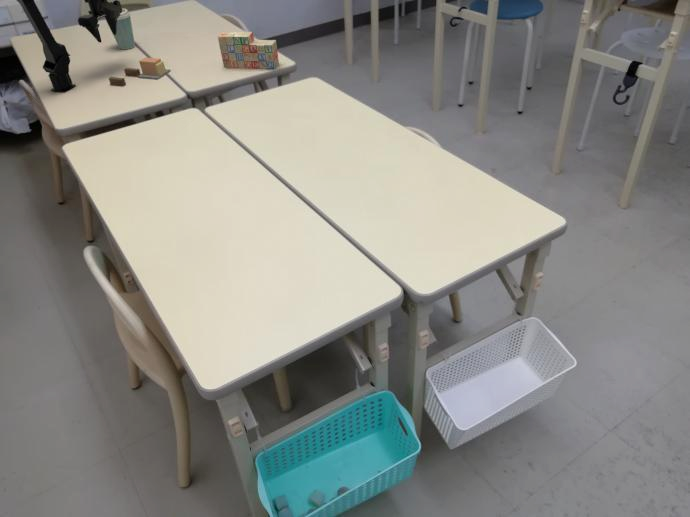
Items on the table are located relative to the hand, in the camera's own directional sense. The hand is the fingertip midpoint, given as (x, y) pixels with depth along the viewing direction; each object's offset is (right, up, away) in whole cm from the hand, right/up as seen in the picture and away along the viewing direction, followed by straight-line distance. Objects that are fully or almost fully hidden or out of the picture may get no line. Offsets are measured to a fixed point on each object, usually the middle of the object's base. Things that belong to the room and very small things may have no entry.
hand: (107, 38), depth 208 cm
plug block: (+18, -13, +1) cm, 22 cm away
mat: (+18, -14, +1) cm, 23 cm away
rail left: (+7, -20, -5) cm, 22 cm away
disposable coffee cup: (-4, +8, +29) cm, 30 cm away
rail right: (+10, -14, +1) cm, 17 cm away
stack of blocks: (+56, -10, +4) cm, 56 cm away
